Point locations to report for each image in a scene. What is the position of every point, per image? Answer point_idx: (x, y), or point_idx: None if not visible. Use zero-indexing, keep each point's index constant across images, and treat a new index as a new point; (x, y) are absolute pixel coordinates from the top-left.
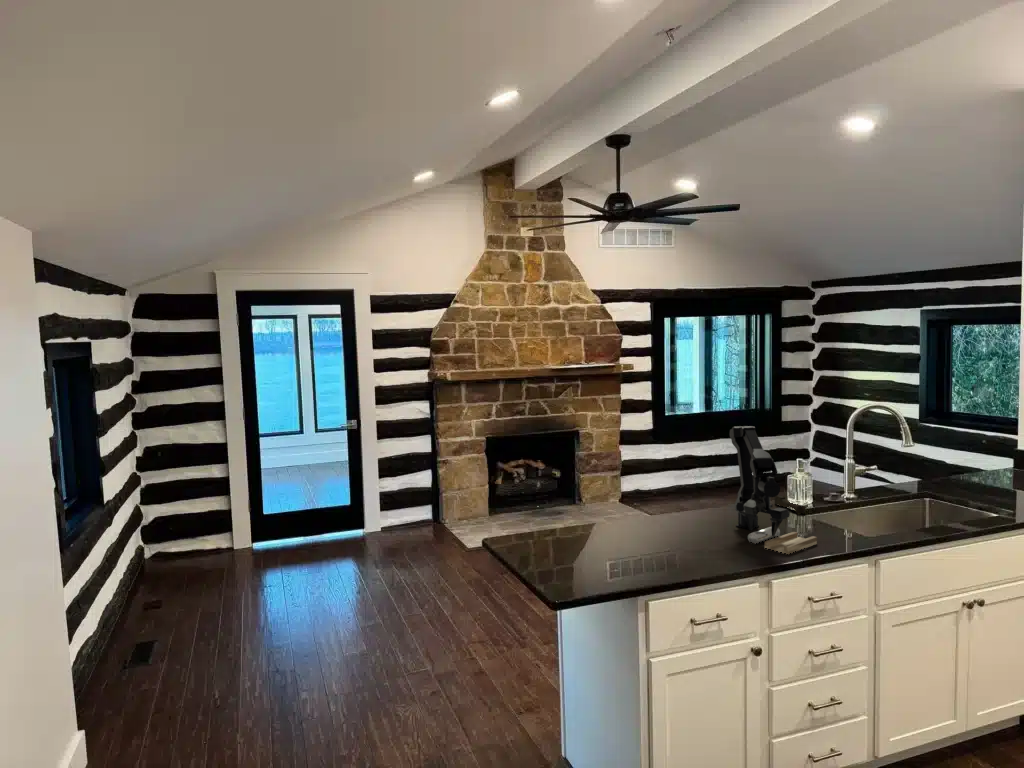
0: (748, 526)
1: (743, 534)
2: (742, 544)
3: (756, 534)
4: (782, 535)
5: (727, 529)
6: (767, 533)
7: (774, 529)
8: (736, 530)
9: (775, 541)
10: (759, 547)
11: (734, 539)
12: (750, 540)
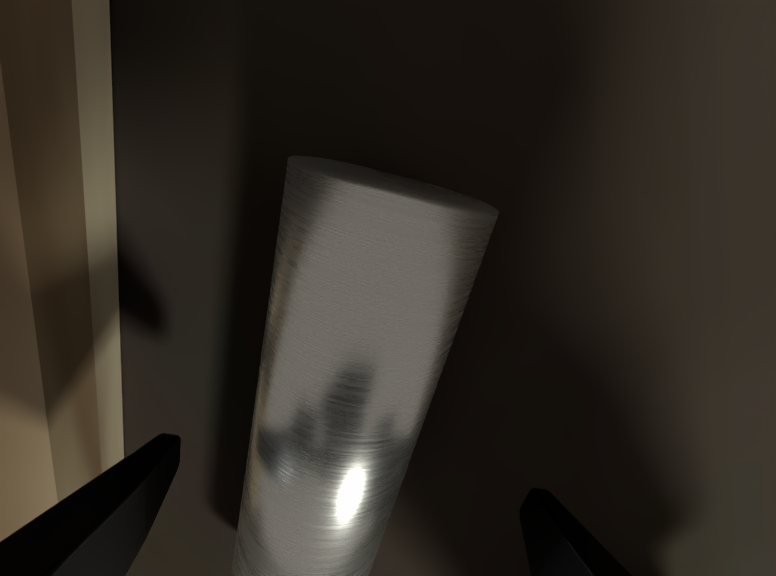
0: (592, 539)
1: (592, 454)
2: (514, 27)
3: (319, 220)
4: (56, 499)
5: (766, 507)
6: (252, 459)
7: (24, 534)
8: (677, 521)
9: None
10: (214, 18)
11: (670, 225)
12: (432, 188)
